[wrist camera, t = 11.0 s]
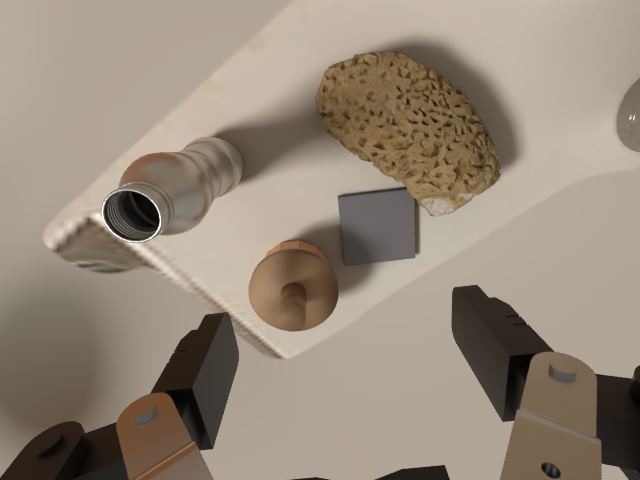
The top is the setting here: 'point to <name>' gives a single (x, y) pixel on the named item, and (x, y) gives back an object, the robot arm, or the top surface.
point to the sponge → (409, 127)
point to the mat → (377, 226)
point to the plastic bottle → (171, 190)
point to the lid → (293, 290)
